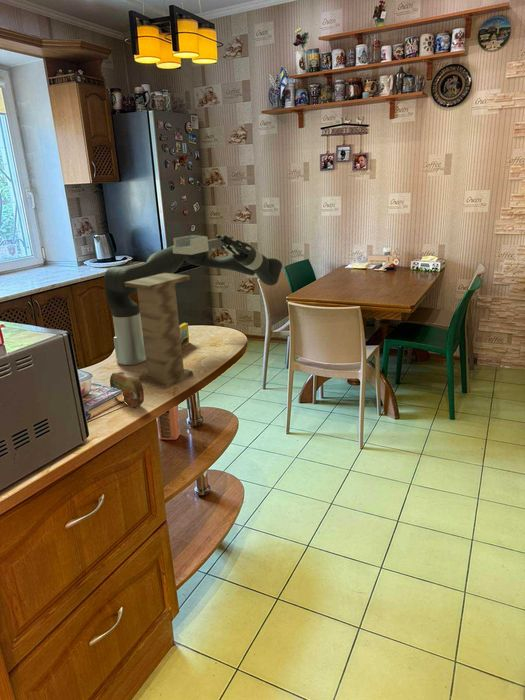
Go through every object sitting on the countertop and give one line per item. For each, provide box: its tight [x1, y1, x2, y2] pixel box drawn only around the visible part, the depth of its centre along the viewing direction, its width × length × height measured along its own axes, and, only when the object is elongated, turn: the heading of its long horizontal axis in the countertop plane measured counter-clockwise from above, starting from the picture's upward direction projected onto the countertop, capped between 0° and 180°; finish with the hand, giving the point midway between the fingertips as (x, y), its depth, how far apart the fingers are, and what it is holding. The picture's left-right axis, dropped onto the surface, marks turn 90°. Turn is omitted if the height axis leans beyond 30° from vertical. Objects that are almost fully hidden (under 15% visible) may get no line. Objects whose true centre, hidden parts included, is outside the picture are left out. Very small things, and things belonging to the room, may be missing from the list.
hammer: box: [172, 235, 234, 255], centre depth 162 cm, size 24×8×4 cm, turn 144°
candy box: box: [179, 322, 190, 349], centre depth 183 cm, size 16×2×8 cm, turn 161°
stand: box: [125, 273, 194, 389], centre depth 153 cm, size 16×12×32 cm
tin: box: [109, 371, 145, 409], centre depth 141 cm, size 15×3×8 cm, turn 45°
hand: (219, 237), depth 167 cm, fingers closed on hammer, 2 cm apart
